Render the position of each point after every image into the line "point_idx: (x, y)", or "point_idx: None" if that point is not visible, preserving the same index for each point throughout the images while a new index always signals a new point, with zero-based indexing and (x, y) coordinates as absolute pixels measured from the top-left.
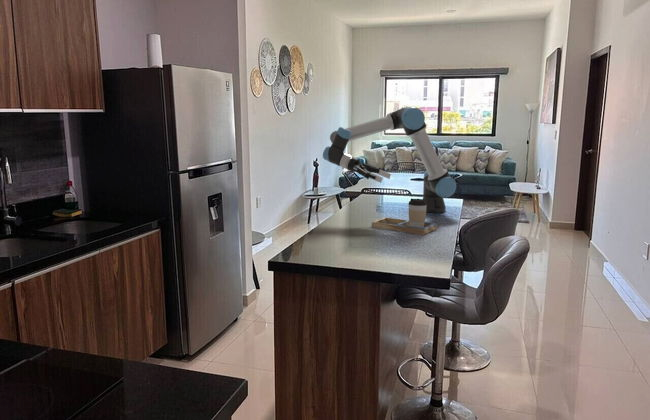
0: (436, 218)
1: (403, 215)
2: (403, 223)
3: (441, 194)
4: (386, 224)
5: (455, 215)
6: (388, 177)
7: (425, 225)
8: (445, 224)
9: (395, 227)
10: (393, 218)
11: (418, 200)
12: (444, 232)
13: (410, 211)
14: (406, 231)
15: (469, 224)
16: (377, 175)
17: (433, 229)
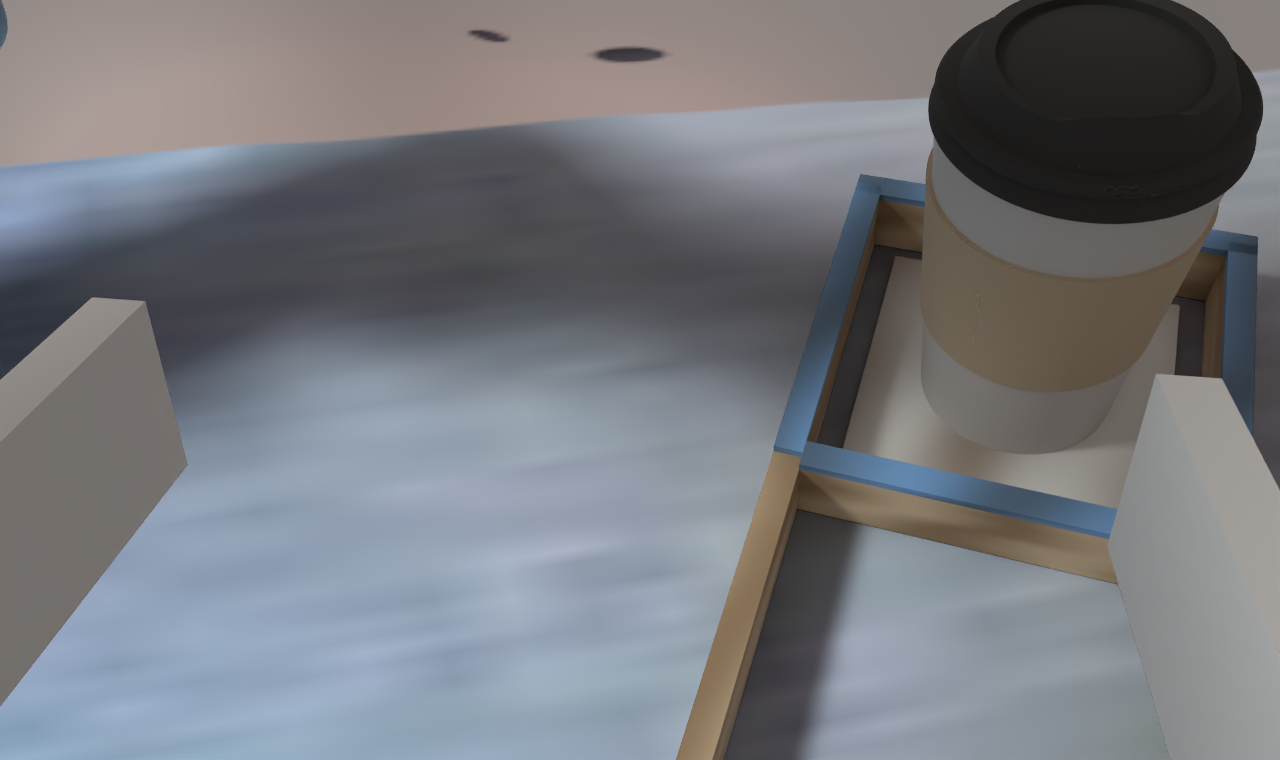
0: (227, 296)
1: (32, 708)
2: (1046, 496)
3: (6, 23)
4: None
5: (27, 166)
6: (157, 455)
7: (853, 298)
8: (561, 185)
9: None
10: (709, 711)
11: (1097, 56)
12: None
13: (1191, 259)
14: None
15: (494, 35)
16: (1253, 545)
17: None
